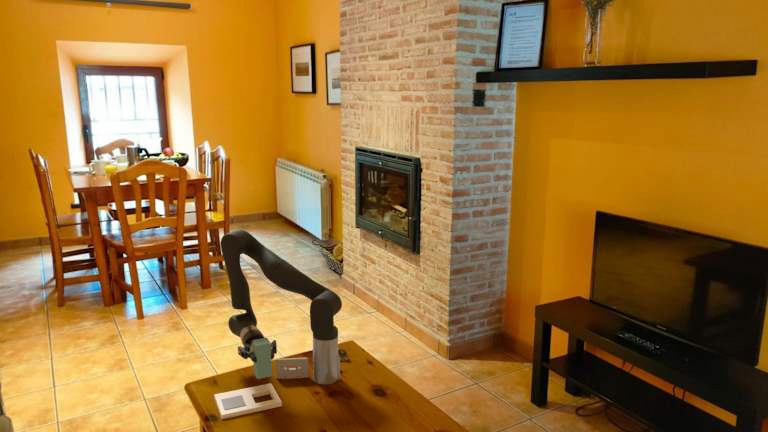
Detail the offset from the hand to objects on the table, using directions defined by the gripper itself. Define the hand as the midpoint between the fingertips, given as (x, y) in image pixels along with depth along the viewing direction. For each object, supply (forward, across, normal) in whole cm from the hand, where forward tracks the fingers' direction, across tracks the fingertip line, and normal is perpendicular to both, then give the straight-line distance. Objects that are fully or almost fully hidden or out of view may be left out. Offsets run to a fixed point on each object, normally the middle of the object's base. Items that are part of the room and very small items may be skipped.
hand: (264, 358), depth 193 cm
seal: (-25, +33, +18) cm, 45 cm away
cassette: (-15, +14, +17) cm, 27 cm away
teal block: (-3, 0, +7) cm, 7 cm away
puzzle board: (-4, -5, +17) cm, 18 cm away
